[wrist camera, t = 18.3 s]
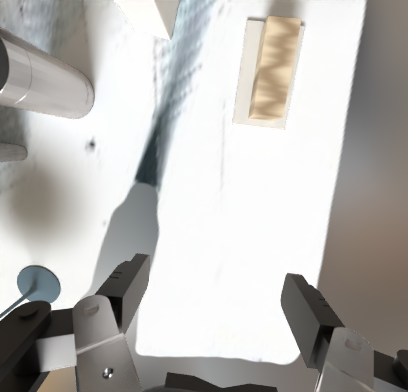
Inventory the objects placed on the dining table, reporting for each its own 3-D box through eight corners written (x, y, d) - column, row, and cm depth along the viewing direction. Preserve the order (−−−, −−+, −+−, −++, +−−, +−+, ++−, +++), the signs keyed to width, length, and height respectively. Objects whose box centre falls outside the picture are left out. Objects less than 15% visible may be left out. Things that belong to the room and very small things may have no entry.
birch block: (252, 114, 34) (268, 15, 31) (248, 118, 39) (260, 33, 36) (282, 117, 34) (301, 18, 31) (274, 121, 39) (289, 36, 36)
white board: (232, 123, 40) (232, 123, 40) (246, 22, 36) (247, 19, 35) (283, 129, 40) (284, 129, 39) (303, 28, 36) (305, 26, 35)
